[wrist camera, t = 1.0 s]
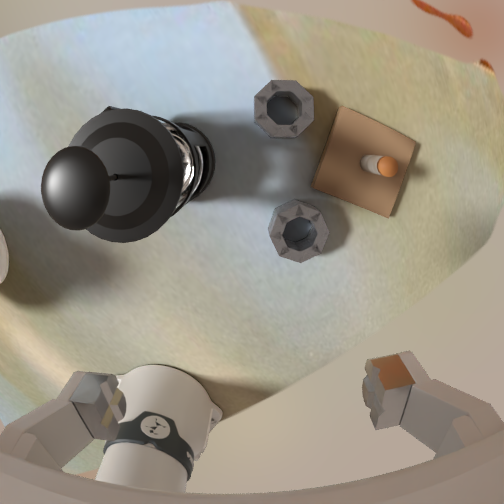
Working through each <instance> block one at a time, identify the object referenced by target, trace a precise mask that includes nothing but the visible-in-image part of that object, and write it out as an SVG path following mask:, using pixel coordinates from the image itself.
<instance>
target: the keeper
mask: <svg viewBox="0 0 504 504" xmlns="http://www.w3.org/2000/svg"><path fill="white" fill-rule="evenodd" d="M415 144H416V142H415V141H413V140H411V139H410V138H408V137H406V136H404V135H402V134H400V133H398V132H396V131H394V130H393V129H391V128H389V127H387V126H385V125H383V124H381V123H379V122H376V121H374V120H372V119H370V118H368V117H366V116H364V115H362V114H359V113H357V112H355V111H353V110H351V109H348V108H346V107H344V106H341V107H339V108H338V111H337V114H336V117H335V120H334V123H333V126H332V128H331V131H330V134H329V137H328V140H327V143H326V145H325V148H324V151H323V154H322V157H321V159H320V162H319V165H318V168H317V170H316V173H315V176H314V179H313V181H312V184H311V187H312V188H314V189H316V190H319V191H322V192H324V193H327V194H330V195H332V196H335V197H337V198H340V199H342V200H345V201H347V202H350V203H352V204H355V205H357V206H360V207H362V208H365V209H367V210H370V211H372V212H374V213H377V214H379V215H382V216H384V217H386V218H389V216H390V213H391V211H392V208H393V206H394V203H395V200H396V198H397V195H398V193H399V190H400V187H401V184H402V182H403V179H404V176H405V173H406V171H407V168H408V165H409V162H410V159H411V156H412V153H413V150H414V147H415Z"/></svg>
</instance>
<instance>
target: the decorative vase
mask: <svg viewBox="0 0 504 504" xmlns="http://www.w3.org/2000/svg"><path fill="white" fill-rule="evenodd" d="M8 268H9V254H8V248H7V244H6V241H5V238H4V235H3V233H2V231H1V229H0V284H1V283H2V282H3V281H4V279H5V278H6V276H7V273H8Z"/></svg>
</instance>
